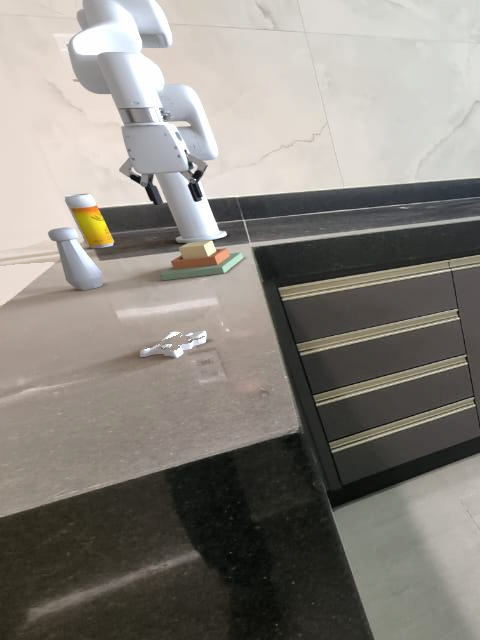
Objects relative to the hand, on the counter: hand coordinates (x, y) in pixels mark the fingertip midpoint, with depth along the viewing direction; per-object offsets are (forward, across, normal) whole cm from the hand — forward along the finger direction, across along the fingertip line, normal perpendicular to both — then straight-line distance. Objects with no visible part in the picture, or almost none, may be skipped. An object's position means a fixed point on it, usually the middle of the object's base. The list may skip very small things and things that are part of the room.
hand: (178, 202), depth 122 cm
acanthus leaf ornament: (+16, -13, +59) cm, 62 cm away
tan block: (+14, 0, 0) cm, 14 cm away
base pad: (+16, 0, 0) cm, 16 cm away
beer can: (+16, +41, -51) cm, 67 cm away
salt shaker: (+16, +20, +6) cm, 26 cm away
